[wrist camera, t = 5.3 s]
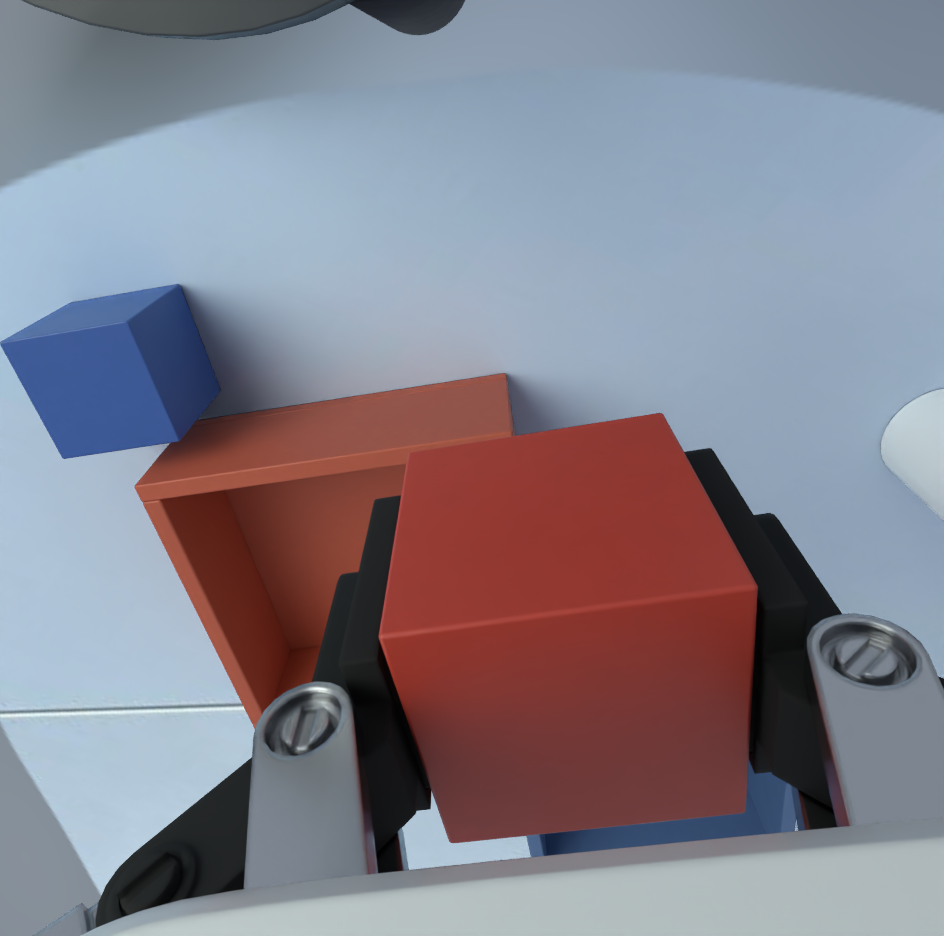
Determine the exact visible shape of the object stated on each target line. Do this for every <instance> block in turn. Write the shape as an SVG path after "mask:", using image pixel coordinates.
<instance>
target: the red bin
mask: <svg viewBox="0 0 944 936" xmlns="http://www.w3.org/2000/svg"><path fill="white" fill-rule="evenodd" d="M511 436H515V429H514V422H513V416H512V409H511V403H510V396H509V389H508V383H507V376H506V373H503V374H497V375H490V376H484V377H477V378H471V379H464V380H458V381H451V382H445V383H438V384H432V385H425V386H418V387H412V388H405V389H399V390H392V391H386V392H379V393H373V394H366V395H360V396H353V397H347V398H340V399H334V400H327V401H321V402H314V403H308V404H301V405H295V406H288V407H282V408H275V409H269V410H262V411H256V412H249V413H243V414H236V415H230V416H223V417H217V418H210V419H204V420H197V421H196V422H195V423H194V424H193V425H192V427H191V428H190V429H189V430H188V432H187V433H186V434H185V435H184V437H183V438H182V439H181V440H180V441H178V442H172V443H170V444H169V445H168V446H167V448H166V449H165V450H164V451H163V452H162V454H161V455H160V456H159V457H158V458H157V460H156V461H155V462H154V463H153V464H152V466H151V467H150V468H149V469H148V471H147V472H146V473H145V474H144V475H143V477H142V478H141V479H140V480H139V481H138V483H137V484H136V485H135V489H136V491H137V493H138V495H139V497H140V499H141V501H142V502H143V505H144V507H145V509H146V511H147V513H148V515H149V517H150V519H151V521H152V523H153V525H154V527H155V529H156V531H157V533H158V535H159V537H160V539H161V541H162V543H163V545H164V547H165V549H166V551H167V553H168V555H169V557H170V559H171V561H172V563H173V565H174V567H175V569H176V571H177V573H178V575H179V577H180V579H181V581H182V583H183V585H184V587H185V589H186V591H187V593H188V595H189V597H190V599H191V601H192V603H193V605H194V607H195V609H196V611H197V613H198V616H199V618H200V620H201V622H202V624H203V626H204V628H205V630H206V632H207V634H208V636H209V638H210V640H211V642H212V644H213V646H214V648H215V650H216V652H217V654H218V656H219V658H220V660H221V662H222V664H223V666H224V668H225V670H226V672H227V674H228V676H229V678H230V680H231V682H232V684H233V686H234V688H235V690H236V692H237V694H238V696H239V698H240V700H241V702H242V704H243V706H244V708H245V710H246V712H247V714H248V716H249V718H250V720H251V722H252V724H253V726H254V728H255V729H256V724H257V722H258V721H259V719H260V717H261V715H262V714H263V712H264V710H265V709H266V708H267V707H268V706H269V705H270V704H271V703H272V702H273V701H274V700H275V699H276V698H278V697H279V696H281V695H282V694H284V693H285V692H286V691H288V690H290V689H292V688H295V687H297V686H299V685H302V684H306V683H311V682H312V679H313V675H314V671H315V667H316V663H317V659H318V655H319V651H320V648H321V644H322V640H323V636H324V632H325V628H326V624H327V620H328V616H329V612H330V609H331V605H332V601H333V597H334V593H335V589H336V585H337V582H338V579H339V577H340V576H341V575H342V574H345V573H352V572H358V571H359V567H360V562H361V558H362V553H363V549H364V544H365V540H366V535H367V531H368V526H369V522H370V517H371V512H372V508H373V503H374V501H375V499H379V498H385V497H392V496H399V495H401V494H402V488H403V481H404V475H405V469H406V463H407V456H408V454H409V453H411V452H416V451H422V450H428V449H435V448H441V447H447V446H454V445H460V444H466V443H473V442H479V441H485V440H492V439H498V438H504V437H511Z"/></svg>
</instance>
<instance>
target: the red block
mask: <svg viewBox="0 0 944 936" xmlns="http://www.w3.org/2000/svg"><path fill="white" fill-rule="evenodd" d="M757 594H758V586H757V584H756V582H755V581H754V579H753V577H752V575H751V573H750V571H749V570H748V568H747V566H746V564H745V562H744V561H743V559H742V557H741V555H740V553H739V551H738V550H737V548H736V546H735V544H734V542H733V541H732V539H731V537H730V535H729V533H728V531H727V530H726V528H725V526H724V524H723V522H722V520H721V519H720V517H719V515H718V513H717V511H716V510H715V508H714V506H713V504H712V502H711V500H710V499H709V497H708V495H707V493H706V491H705V490H704V488H703V486H702V484H701V482H700V480H699V479H698V477H697V475H696V473H695V471H694V470H693V468H692V466H691V464H690V462H689V460H688V459H687V457H686V455H685V453H684V451H683V449H682V448H681V446H680V444H679V442H678V440H677V439H676V437H675V435H674V433H673V431H672V429H671V428H670V426H669V424H668V422H667V420H666V419H665V417H664V415H663V414H662V413H656V414H650V415H644V416H637V417H631V418H625V419H618V420H612V421H606V422H599V423H593V424H587V425H580V426H574V427H568V428H561V429H555V430H549V431H542V432H536V433H530V434H523V435H517V436H511V437H504V438H498V439H492V440H485V441H479V442H473V443H466V444H460V445H454V446H447V447H441V448H435V449H428V450H422V451H416V452H411V453H409V454H408V456H407V463H406V469H405V475H404V481H403V488H402V494H401V500H400V506H399V513H398V519H397V525H396V531H395V538H394V544H393V550H392V556H391V563H390V569H389V575H388V581H387V588H386V594H385V600H384V606H383V612H382V619H381V625H380V631H379V640H380V643H381V646H382V649H383V652H384V654H385V657H386V660H387V663H388V666H389V669H390V672H391V675H392V678H393V680H394V683H395V686H396V689H397V692H398V695H399V698H400V701H401V703H402V706H403V709H404V712H405V715H406V718H407V721H408V724H409V727H410V729H411V732H412V735H413V738H414V741H415V744H416V747H417V750H418V753H419V755H420V758H421V761H422V764H423V767H424V770H425V773H426V776H427V778H428V781H429V784H430V787H431V790H432V793H433V796H434V799H435V802H436V804H437V807H438V810H439V813H440V816H441V819H442V822H443V825H444V827H445V830H446V833H447V836H448V839H449V841H450V842H451V843H461V842H471V841H480V840H490V839H499V838H509V837H519V836H528V835H538V834H548V833H557V832H567V831H576V830H586V829H596V828H605V827H615V826H625V825H634V824H644V823H653V822H663V821H673V820H682V819H692V818H702V817H711V816H721V815H731V814H740V813H744V812H745V811H746V797H747V778H748V760H749V741H750V723H751V704H752V686H753V667H754V649H755V631H756V612H757Z"/></svg>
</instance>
